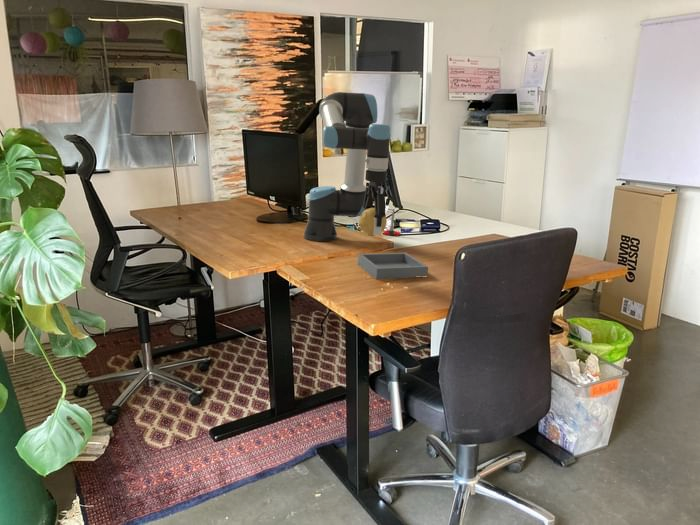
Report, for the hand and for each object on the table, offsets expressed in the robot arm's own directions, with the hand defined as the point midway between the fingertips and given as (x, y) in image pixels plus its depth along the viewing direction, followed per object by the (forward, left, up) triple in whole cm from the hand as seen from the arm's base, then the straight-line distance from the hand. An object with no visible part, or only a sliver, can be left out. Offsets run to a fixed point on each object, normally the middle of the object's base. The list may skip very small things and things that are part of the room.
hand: (372, 231), depth 198 cm
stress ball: (0, 0, -1) cm, 1 cm away
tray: (-2, +10, -15) cm, 18 cm away
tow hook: (-62, +35, -16) cm, 73 cm away
